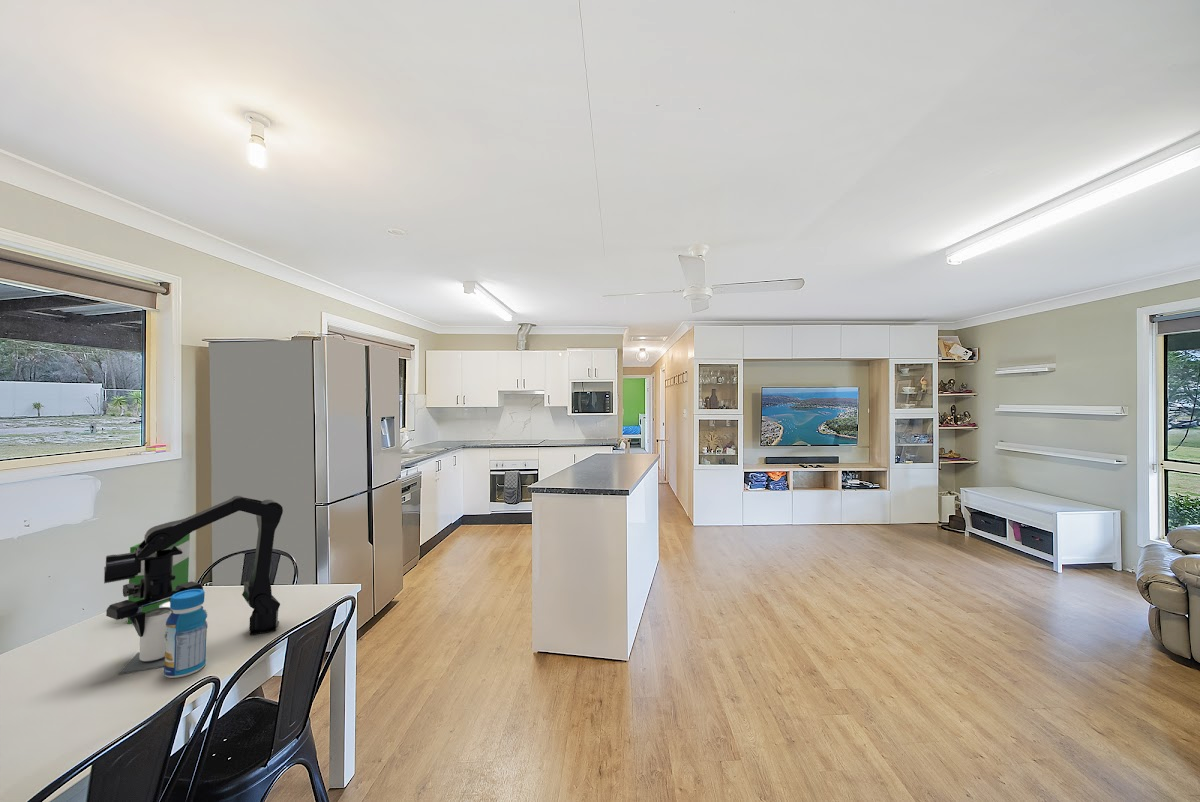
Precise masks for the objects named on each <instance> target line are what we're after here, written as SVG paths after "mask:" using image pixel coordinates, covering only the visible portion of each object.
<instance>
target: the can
mask: <svg viewBox="0 0 1200 802" xmlns="http://www.w3.org/2000/svg"><path fill="white" fill-rule="evenodd" d="M171 613H172V612H171V608H169V607H163V608H157V609H153V610H150V611H147V612H145V626H144V634H143V636H142V637H140V636H139V652H140V654H139V658H140V660H141V661H144V662H149V661H155V660H158V659H161V658H164V657H165V631H166V630H167V627H166V621H167V619H168V617H169V615H170V614H171Z"/></svg>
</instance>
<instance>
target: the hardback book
mask: <svg viewBox="0 0 1200 802" xmlns="http://www.w3.org/2000/svg"><path fill="white" fill-rule="evenodd" d="M190 534H191V533H189V534H188V535H186V536H185V537H184V538H182V539H181V540H180V541H178V542H177V543H175V544H173V545H175V546H176V547H177V548H179V549H181V550H182V552H183V553H182V554H179V555H173V575H175V579H174V580H172V590H175V588H176V587H177V585H181V584H184V583H187V582H189V568H190V567H189V566H190V565H189V563H190V539H191V538H190V537H191V536H190ZM141 543H142V542H140V543H137V544H135V545H133V546H131V547H130V550H129V553H132V552H134V550H135V549H136V548H137V547H138V546H139V545H140V544H141ZM173 545H172V546H173ZM172 546H170V547H168V548H167V549H169V548H171V547H172ZM154 553H156V552H154ZM154 553H153V554H154ZM141 578H144V560H142V561H141V573H138V575H136V576H135V578H131V579H128V584H129V583H133V582H134V583H135V584H136V585H138V584H140V583H141ZM127 597H128V599H127V600H129V601H133V602H136V601H140V600H143V598H138V597H136V598H132V595H130V596H127ZM149 602H150V601H149ZM165 602H169V599H168V600H165V601H161V602H158V603H155V604H151V605H148V606H145V607H142V610H141V612H144V613H145V612H147V611H150V610H153V609H157V608H159V606H160V605H161V604H163V603H165ZM126 624H127V625H130V624H131V625H133V623H132V622H131V621H130V619H128V618H127V623H126Z"/></svg>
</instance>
